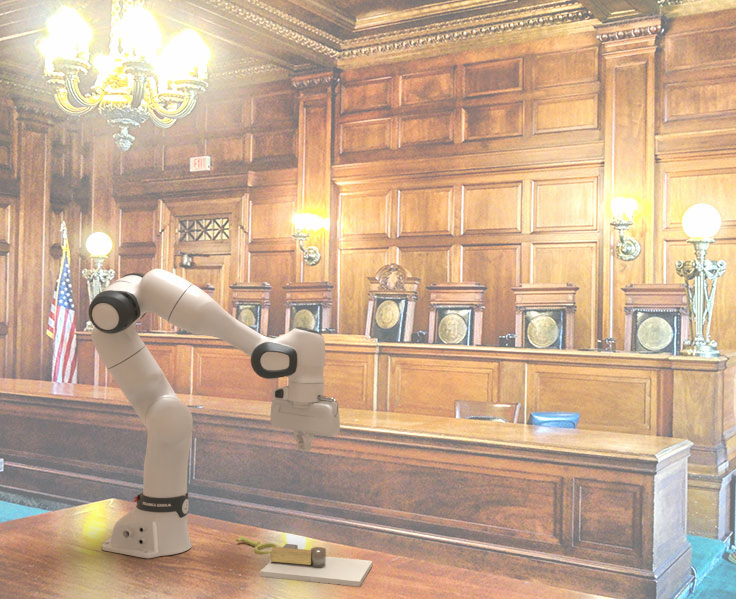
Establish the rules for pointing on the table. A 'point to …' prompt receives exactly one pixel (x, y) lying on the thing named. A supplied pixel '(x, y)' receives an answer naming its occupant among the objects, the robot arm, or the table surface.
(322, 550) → the swing arm
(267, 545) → the key
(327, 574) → the lock plate
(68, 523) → the table surface
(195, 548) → the table surface
